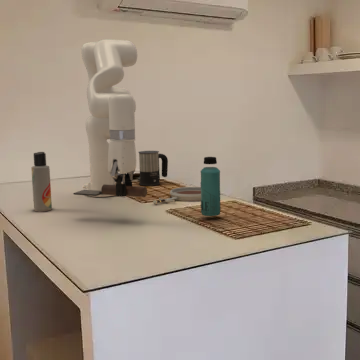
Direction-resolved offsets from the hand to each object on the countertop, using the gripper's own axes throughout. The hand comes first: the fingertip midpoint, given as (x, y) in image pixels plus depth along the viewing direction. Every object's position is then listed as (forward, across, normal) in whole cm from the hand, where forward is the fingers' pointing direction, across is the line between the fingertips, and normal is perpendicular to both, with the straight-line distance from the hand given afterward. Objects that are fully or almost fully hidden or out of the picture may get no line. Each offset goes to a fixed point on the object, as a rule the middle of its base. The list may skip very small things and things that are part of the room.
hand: (124, 194), depth 152 cm
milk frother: (+10, -68, -25) cm, 73 cm away
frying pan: (+9, -38, +4) cm, 39 cm away
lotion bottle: (+9, -7, -35) cm, 37 cm away
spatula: (0, 0, -5) cm, 5 cm away
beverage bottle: (+9, -12, +24) cm, 28 cm away
